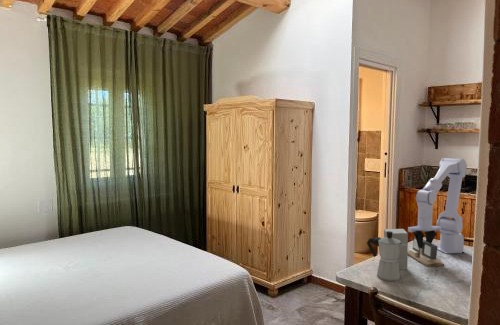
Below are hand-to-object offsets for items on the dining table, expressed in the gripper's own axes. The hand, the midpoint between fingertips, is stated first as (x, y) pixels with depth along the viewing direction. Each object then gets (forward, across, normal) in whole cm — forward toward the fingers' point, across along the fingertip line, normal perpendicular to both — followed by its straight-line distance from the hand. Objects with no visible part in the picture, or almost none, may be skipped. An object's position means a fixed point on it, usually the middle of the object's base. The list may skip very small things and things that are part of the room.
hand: (424, 247), depth 165 cm
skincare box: (+6, -18, -8) cm, 20 cm away
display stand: (+5, 0, 0) cm, 5 cm away
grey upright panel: (+3, 0, 0) cm, 3 cm away
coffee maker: (+6, -26, -16) cm, 31 cm away
